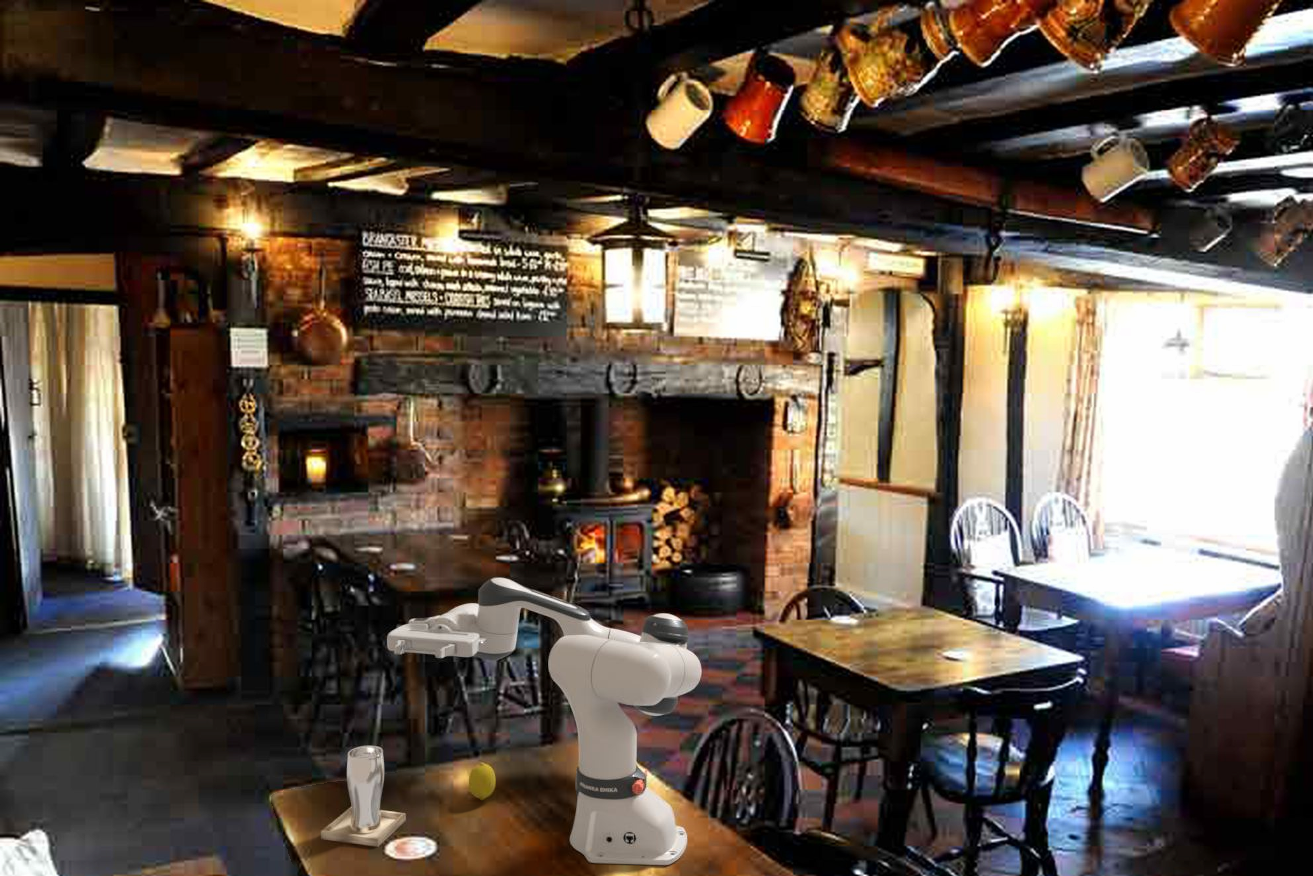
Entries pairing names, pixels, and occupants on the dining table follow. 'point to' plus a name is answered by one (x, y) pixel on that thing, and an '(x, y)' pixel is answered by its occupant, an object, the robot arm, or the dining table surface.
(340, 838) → the tray
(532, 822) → the dining table surface
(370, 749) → the beer glass
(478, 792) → the lemon
